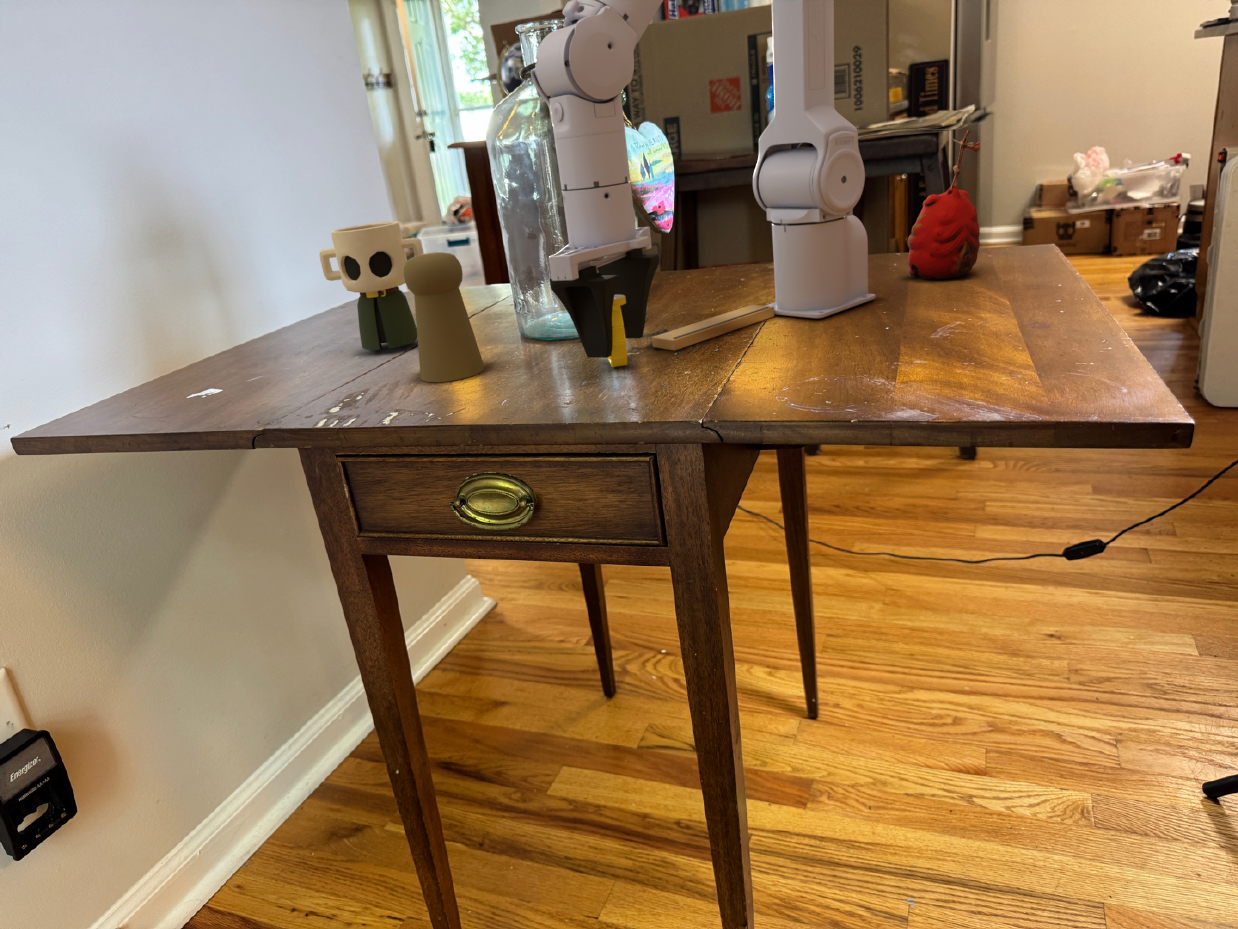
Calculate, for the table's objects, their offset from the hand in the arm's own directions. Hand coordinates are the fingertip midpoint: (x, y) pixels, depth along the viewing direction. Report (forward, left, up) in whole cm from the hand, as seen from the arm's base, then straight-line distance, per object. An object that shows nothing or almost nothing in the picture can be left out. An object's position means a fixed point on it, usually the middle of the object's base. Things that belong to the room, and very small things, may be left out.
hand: (615, 346), depth 75 cm
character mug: (+7, -30, -2) cm, 31 cm away
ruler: (-13, 0, -2) cm, 13 cm away
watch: (0, 0, -2) cm, 2 cm away
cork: (+9, -13, -2) cm, 16 cm away
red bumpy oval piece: (-42, +7, -2) cm, 42 cm away
